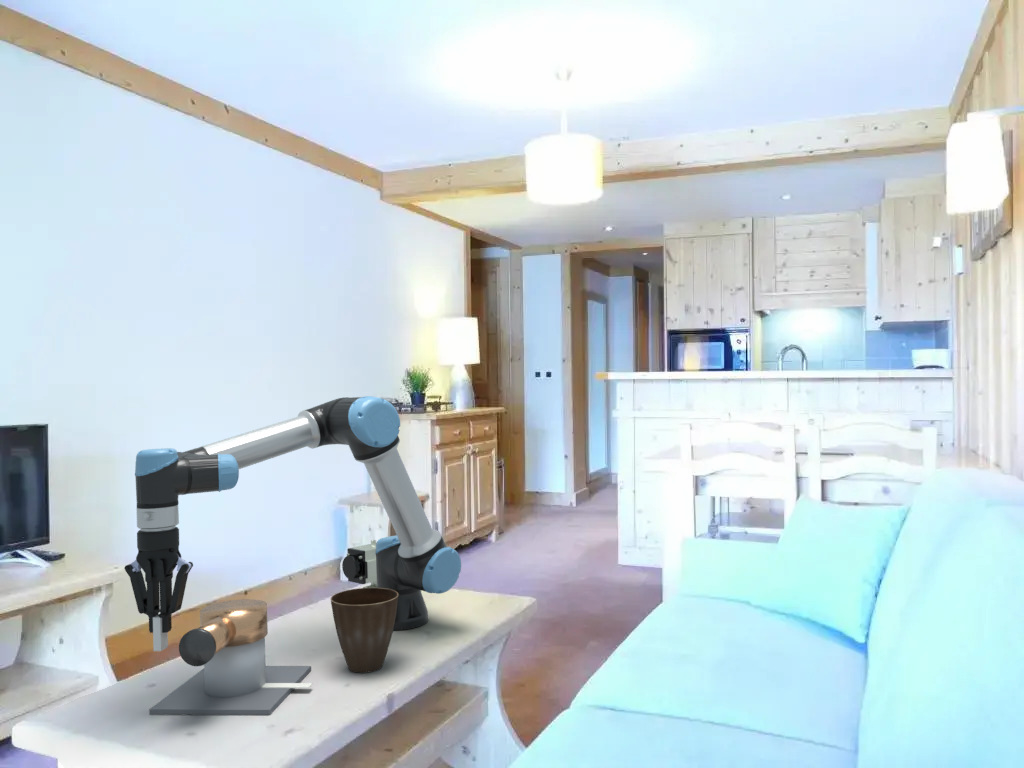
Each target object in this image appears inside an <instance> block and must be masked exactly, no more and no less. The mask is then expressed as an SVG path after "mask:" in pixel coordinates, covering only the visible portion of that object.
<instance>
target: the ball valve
mask: <svg viewBox="0 0 1024 768" xmlns="http://www.w3.org/2000/svg"><path fill="white" fill-rule="evenodd" d="M376 543H377V540H376V539H371V540H370V543H368V544H363V545H359V546H354V547H350V548H347V553H346V556H345V557H344V558H343V560H342V565H341V566H342V567H341V568H342V572H343V574H344V576H345V578H347V579H348V582H352V583H356V584H361V585H366V584H369V585H366V586H363V587H362V588H377V571H376V555H375V553H376Z"/></svg>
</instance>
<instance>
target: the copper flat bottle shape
mask: <svg viewBox="0 0 1024 768" xmlns="http://www.w3.org/2000/svg"><path fill="white" fill-rule="evenodd" d="M268 626H269V625H268V603H267V602H266V601H264V600H262V599H261V600H260V599H252V598H250V599H249V598H248V599H247V598H242V599H231V600H225V601H221V602H220V601H219V602H216V603H215V602H214V603H212V604H209V605H207V606H204V607H202V608H201V609H200V610H199V627H197V628H193V629H190V630H188V631H187V632H186V633H184V634H183V636H182V637H181V638H180V640H179V644H178V652H179V656H180V658H181V659H182V660H183V661H184V662H185V663H186V664H188V665H190V666H192V667H202V666H204V664H206V663H207V662H209V661H210V660H211V659H212V658H213V656H214V655H215V654H216V653H217V652H219V651H220V650H221V649H223V648H224V647H229V646H238V645H243V644H248V643H252V642H255V641H258V640H260V639H262V638H264V637H265V638H266V637H267V636H268V630H269V628H268Z"/></svg>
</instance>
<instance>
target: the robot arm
mask: <svg viewBox="0 0 1024 768" xmlns="http://www.w3.org/2000/svg"><path fill="white" fill-rule="evenodd" d="M400 427H401V418H400V416H399V412H398V411H397V408H395V406H394V404H392V403H391V402H389V401H388V400H386V399H384V398H381V397H378V396H377V397H376V396H372V395H371V396H369V395H365V396H357V397H338V398H335V399H332V400H330V401H327V402H324V403H321V404H319V405H316V406H313V407H310V408H307V409H304V410H302V411H300V412H299V413H298V415H297V416H296V417H292V418H289V419H287V420H282V421H280V422H277V423H273V424H270V425H266V426H263V427H260V428H257V429H255V430H254V429H253V430H251V431H247V432H245V433H240V434H237V435H235V436H231V437H228V438H223V439H222V440H218V441H215V442H211V443H209V444H205V445H202V446H199V447H195V448H192V449H189V450H186V451H185V450H184V451H177V450H176V449H175V448H171V447H170V448H168V447H167V448H149V449H142V450H140V451H137V453H136V456H135V465H134V466H135V467H134V469H135V470H134V476H135V493H136V495H135V496H136V509H135V510H136V528H137V529H139V530H137V532H136V545H137V546H136V547H137V551H138V552H137V555H136V556H135V560H133V562H131V563H129V564H127V565H125V566H124V571H125V572H126V574H127V575H128V577H129V580H130V584H131V587H132V591H133V595H134V599H135V603H136V608H137V611H138V613H139V614H144V615H147V617H148V632H149V633H151V634H152V637H153V638H152V642H153V652H162V651H164V650H165V649H166V648H168V647H169V638H168V637H169V635H168V634H169V632H171V630H172V628H173V627H172V615H173V614H174V613H176V612H178V611H180V610H181V608H182V606H183V601H184V597H185V596H184V595H185V591H186V588H187V587H186V586H187V582H188V577H189V573H190V572H191V570H192V568H193V567H194V563H193V561H186V560H185V559H183V558H182V555H181V552H180V550H179V548H180V528H179V527H177V525H179V524H180V520H179V517H180V514H179V503H180V502H179V496H183V495H189V494H201V493H211V492H212V493H213V492H214V493H215V492H219V493H220V492H222V491H227V490H232V489H233V488H235V487H236V485H237V483H238V481H239V477H240V476H239V475H240V470H241V469H244V468H248V467H250V466H253V465H256V464H259V463H262V462H265V461H267V460H271V459H274V458H276V457H280V456H282V455H286V454H288V453H292V452H294V451H297V450H301V449H302V448H306V447H308V448H309V449H316V448H319V447H322V446H328V445H331V446H332V445H345V446H348V447H349V449H350V452H351V453H352V456H353V458H354V460H355V461H357V462H359V463H362V464H364V466H365V469H366V471H367V473H368V475H369V478H370V480H371V482H372V483H373V486H374V489H375V490H376V492H377V494H378V497H379V499H380V502H381V504H382V505H383V509H384V510H385V512H386V514H387V517H388V519H389V522H390V523H391V525H392V527H393V529H394V532H395V535H391V536H385V537H382V538H379V539H378V540H376V553H375V555H376V571H377V588H386V589H391V590H394V591H396V592H398V603H397V611H396V617H395V623H394V627H393V631H402V630H403V631H405V630H409V629H411V630H412V629H414V628H419V627H421V626H423V625H425V624H427V623H428V622H429V611H428V610H429V609H428V608H427V604H426V601H425V599H424V597H423V593H422V591H423V592H425V593H428V594H437V595H438V594H439V595H440V594H444V593H446V592H448V591H450V590H451V589H452V588H453V587H454V586H455V585H456V583H457V582H458V580H459V578H460V573H461V572H462V560H461V556H460V554H459V552H458V551H457V550H455V549H454V548H452V547H451V546H447V544H446V542H445V540H444V538H443V536H442V533H441V532H440V531H439V530H437V529H433V527H432V526H431V523H430V521H429V518H428V516H427V514H426V512H425V510H424V508H423V505H422V503H421V501H420V499H419V495H418V494H417V491H416V490H415V486H414V485H413V482H412V479H411V478H410V475H409V473H408V471H407V469H406V467H405V463H403V462H404V461H403V460H402V457H401V455H400V453H399V450H398V446H399V444H400V441H401V440H400V437H399V434H400ZM175 569H176V571H177V573H176V576H175V580H174V586H173V577H174V571H175ZM142 571H143V572H142ZM143 573H145V575H143ZM144 576H145V577H144ZM145 582H146V583H145Z"/></svg>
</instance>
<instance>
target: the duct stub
mask: <svg viewBox="0 0 1024 768" xmlns="http://www.w3.org/2000/svg"><path fill="white" fill-rule="evenodd" d="M203 666H204V667H203V668H202V669H201V670H200V671H198V672H197V673H196V674H194V675H193V676H192V677H190V678H189V679H188V680H186V681H185V682H184V683H181V685H180V686H179V687H177V688H176V689H174V690H173V691H172V692H171V693H169V694H168V695H166V696H165V697H164V698H162V699H161V700H160V701H158V702H157V703H156V704H155V705H153V706H152V707H150V708H149V710H148V711H149V712H148V713H149V714H152V716H153V715H154V714H184V715H185V714H197V715H196V716H198V715H199V714H200V715H199V716H204V715H205V716H221V715H222V716H271V715H272V713H273V712H274V711H275V710H276V709H277V708H278V707H279V706H280V705H281V704H282V703H283V702H284V701H285V699H286V698H287V697H288V696H289V695H290V694H292V692H293V691H294V689H310V688H311V687H312V686H313V684H314V683H313V682H302V681H303V680H304V679H305V678H306V677H307V676H308V675H309V673H311V671H312V665H267V664H266V636H265V637H264V638H262V639H260V640H258V641H255V642H252V643H248V644H243V645H238V646H229V647H224V648H223V649H221V650H220V651H219V652H217V653H216V654H215V655H214V656H213V658H212V659H211V660H210V661H209V662H207V663H206V664H204V665H203ZM184 715H183V716H184ZM154 716H155V715H154Z"/></svg>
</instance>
